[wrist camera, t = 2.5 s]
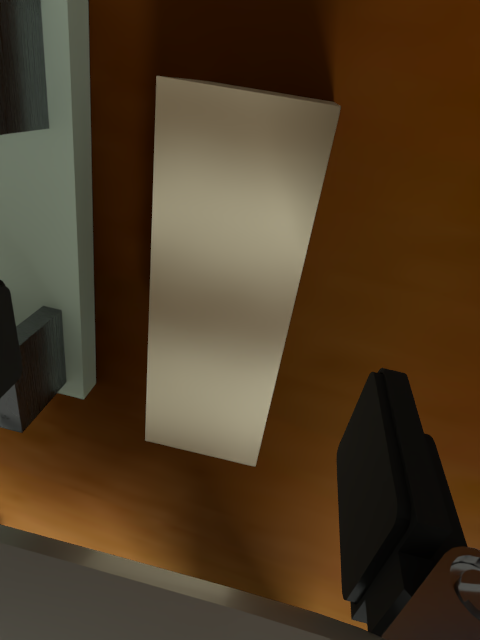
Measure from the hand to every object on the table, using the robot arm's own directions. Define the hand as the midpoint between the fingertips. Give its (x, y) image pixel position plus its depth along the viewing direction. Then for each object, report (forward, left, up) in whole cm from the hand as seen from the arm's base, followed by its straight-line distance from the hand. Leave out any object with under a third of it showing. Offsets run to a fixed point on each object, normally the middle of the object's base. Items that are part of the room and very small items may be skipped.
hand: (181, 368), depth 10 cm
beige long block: (-1, 0, -10) cm, 10 cm away
